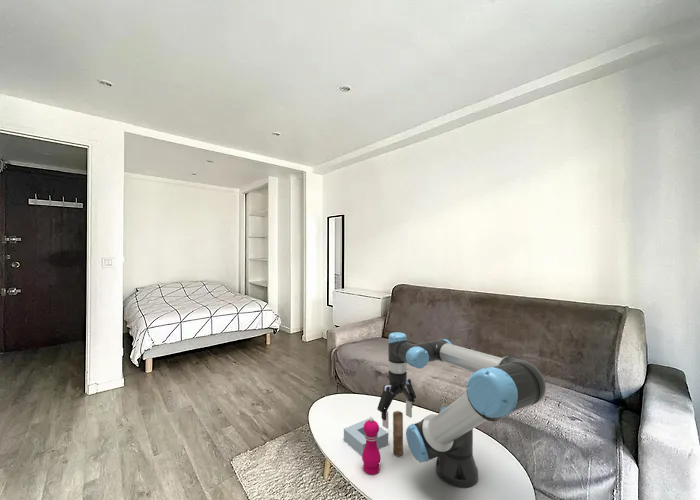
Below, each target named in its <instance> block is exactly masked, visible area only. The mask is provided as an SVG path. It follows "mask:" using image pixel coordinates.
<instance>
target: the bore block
mask: <svg viewBox="0 0 700 500" xmlns="http://www.w3.org/2000/svg"><path fill="white" fill-rule="evenodd" d="M368 420H369V418H366V419H364V420H361V421H359V422H356V423H355V424H352V425H349V426H348V427H344V428H343V441H344V442H345V443H346V444H348V445H349V446H350V447H351V448H352V449H354V450H355V452H356V453H358V454H359V455H360V456H362V454H363V451H364V448H365V446H366V439H365V432H364V424H365V422H366V421H368ZM377 434H378V439H377V448H378V450H379V449H382V448H384V447H386V446H389V432H388V431H386V430H385V429H384V428H383V427H381V426H379V431H378V433H377Z"/></svg>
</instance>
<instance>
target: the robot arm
mask: <svg viewBox="0 0 700 500" xmlns="http://www.w3.org/2000/svg"><path fill="white" fill-rule="evenodd" d="M387 344H388V346H387V347H388V349H387V350H388V354H387V355H388V377H387V379H388V381H389V384H388V385H386V384H384V385H383V387H382V389H383V390H382V393H381V396H380V399H379V401H378V406H377V409H376V410H377V411H378V412H380V413H381V420H382V427H384V428H385V429H386V430H388V429H389V411H388V410H389V407H390V406H391V404H392V402H393V400H394V399H395V398H396V395H399V394H403V395H404V396H405V398H406V400H405V416H406V417H408V418H412V417H413V403H414V402H416V401H415V399H416V398H417V395H416V392H415V389H414V388H413V384H412V380H411V379H410V378H408V377H407V375H408V373H407V371H408V370H407V365H409V366H411V367H412V368H416V369H424V368H425V367H426V366H427V365H428V364H429V363H431V362H432V363H433V362H435V361H438V362H442V363H445V364H448V365H451V366H453V367H456V368H459V369H462V370H465V371H468V372H470V373H472V375H470V377H469V378H468V381H467V386H466V390H465V393H463V395H461V396H460V397H459V398H457V399H456V400H455V401H453V402H451V404H449V405H448V406H442V407H441V408H440V411H439V413H437V414H436V413H435V414H432V413H431V414H428V415H427V416H425V417H424V418H422V420H420V421H419V422H415V423H411V424H409V425H408V426H407V428H406V431H405V436H406V444H407V445H408V449H409V451H410V452H411V454H412V457H414V459H415V460H416V461H418V462H419V463H425V462H426V463H428V462H429V461H431V460H433V459H436V461H435V472H436V474H437V476H438V477H439V478H440V479H441V480H442V481H443V482H445V483H446V484H448V485H450V486H452V487H457V488H469V487H473V486H475V484H477V482H478V480H479V471H478V467H477V464H476V461H475V458H474V452H473V451H474V450H473V449H474V448H473V445H474V443H473V440H474V436H473V435H474V433H473V431H474V429H475V428H476V427H478V426H480V425H482V424H483V423H485V422H490V423H496V422H499V421H501V420H502V419H504V418H506V417H507V416H510V415H511V414H513V413H515V412H518V411H519V410H520V411H521V410H522V409H525V408H527V407H530V406H533V405H535V404H538V403H539V402H541V401H542V399H543V398H544V396H545V394H546V390H547V382H546V379H545V378H544V375H543V374H542V372H541V371H540V369H539V368H537V367H536V366H535V365H534V364H533V363H531V362H530V361H527V360H525V359H520V358H516V357H512V356H504V357H500V356H495V355H492V354H488V353H485V352H482V351H477V350H475V349H469V348H466V347H463V346H460V345H455V344H452V342H451V341H450V340H448V339H445V338H443V339H440V338H439V339H436V340H430V341H424V342H420V343H415V344H414V343H412V342H409V341H408V337H407V335H406V333H404V332H398V331H396V332H391V333H389V334H388V342H387Z"/></svg>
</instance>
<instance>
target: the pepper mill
mask: <svg viewBox="0 0 700 500" xmlns="http://www.w3.org/2000/svg"><path fill="white" fill-rule="evenodd" d="M368 419H369V420H368V421H366V422H365V424H364V432H365V439H366V446H365V448H364V451H363V454H362V455H361V459H362V462H363V468H362V469H363V471H364V473H366V474H367V475H371V476H372V475H373V476H374V475H377V474H378V473H379V472H380V467H381V465H380V463H381V460H382V457H381V452H380V450H379V449H378V448H377V439H378V434H377V433H378V431H379V427H380V426H379V424H378V422H377V421H376V420H374V417H372V416H370V417H369V418H368Z"/></svg>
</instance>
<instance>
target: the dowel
mask: <svg viewBox="0 0 700 500" xmlns="http://www.w3.org/2000/svg"><path fill="white" fill-rule="evenodd" d="M403 423H404V415H403V412H402V411H399V410H397V411H393V412H392V433H393V434H392V441H393V442H392V446H393V448H392V450H393V452H392V453H393V454H394V455H395V456H397V457H400V456H402V455H403V454H404V424H403Z"/></svg>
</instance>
